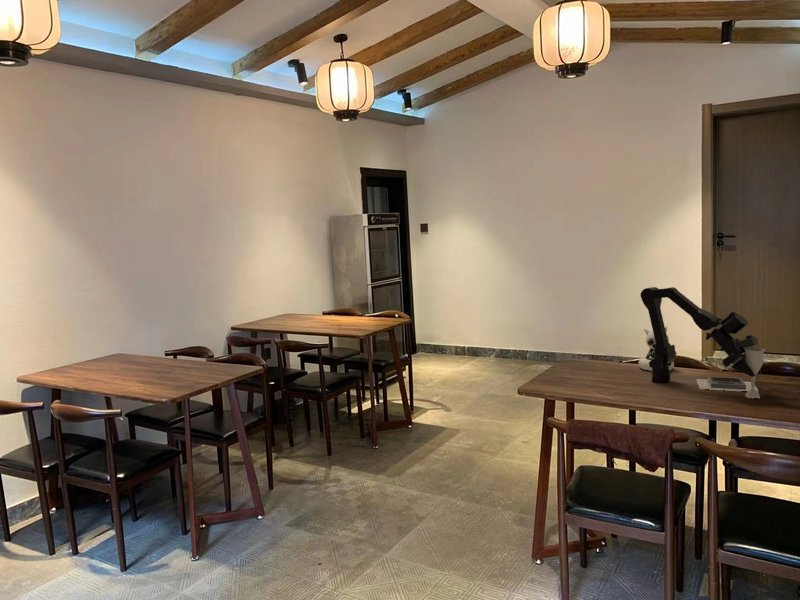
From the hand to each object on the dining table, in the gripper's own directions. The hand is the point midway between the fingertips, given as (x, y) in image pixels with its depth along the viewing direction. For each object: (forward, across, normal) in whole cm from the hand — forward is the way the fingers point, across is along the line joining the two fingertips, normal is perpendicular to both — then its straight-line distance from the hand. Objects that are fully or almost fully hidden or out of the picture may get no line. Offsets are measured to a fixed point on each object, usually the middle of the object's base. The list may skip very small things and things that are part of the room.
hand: (757, 374), depth 220 cm
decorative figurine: (-28, +19, +41) cm, 53 cm away
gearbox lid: (-4, +9, +16) cm, 19 cm away
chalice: (+5, 0, +7) cm, 9 cm away
